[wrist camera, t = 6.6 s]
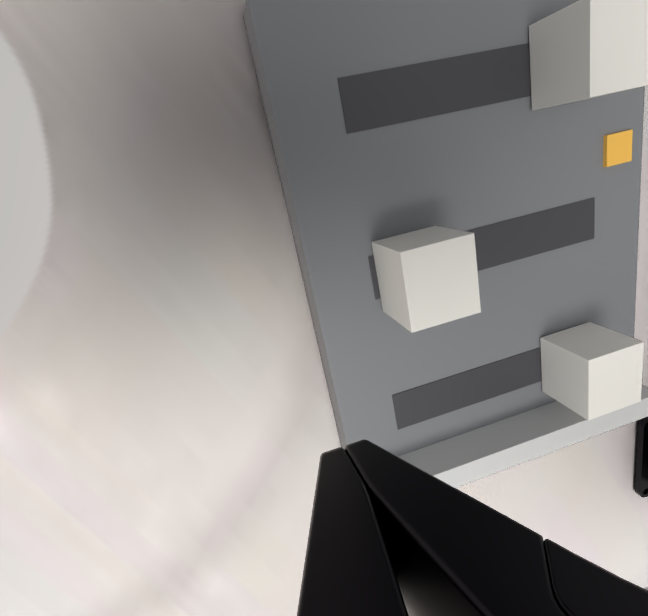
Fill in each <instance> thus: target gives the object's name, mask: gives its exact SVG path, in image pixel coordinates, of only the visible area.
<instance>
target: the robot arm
mask: <svg viewBox="0 0 648 616" xmlns="http://www.w3.org/2000/svg"><path fill="white" fill-rule="evenodd" d="M635 492H636V493H637V494H638V495H640V496H641V497H647V496H648V417H645V418H642V419H641V420H640V421H639V424H638V440H637V460H636V480H635ZM297 616H648V590H646V589H643V588H641V587H639V586H637V585H635V584H633V583H631V582H629V581H627V580H624V579H622V578H620V577H618V576H617V575H615V574H613V573H611V572H609V571H607V570H605V569H603V568H601V567H599V566H597V565H596V564H594V563H592V562H590V561H588V560H586V559H584V558H582V557H580V556H578V555H576V554H574V553H573V552H571V551H569V550H567V549H565V548H564V547H562V546H560V545H558V544H556V543H554V542H553V541H551V540H549V539H545V540H544V541H543V537H542V536H541V535H539V534H538V533H536V532H534V531H532V530H530V529H529V528H527V527H525V526H523V525H521V524H519V523H518V522H516V521H514V520H512V519H510V518H509V517H507V516H505V515H503V514H501V513H499V512H498V511H496V510H494V509H492V508H490V507H489V506H487V505H485V504H483V503H481V502H479V501H478V500H476V499H474V498H472V497H470V496H469V495H467V494H465V493H463V492H461V491H459V490H458V489H456V488H454V487H452V486H450V485H449V484H447V483H445V482H443V481H441V480H439V479H438V478H436V477H434V476H432V475H430V474H429V473H427V472H425V471H423V470H421V469H419V468H418V467H416V466H414V465H412V464H410V463H409V462H407V461H405V460H403V459H401V458H399V457H398V456H396V455H394V454H392V453H390V452H389V451H387V450H385V449H383V448H381V447H380V446H378V445H376V444H374V443H372V442H370V441H369V440H365V439H363V440H360V441H357V442H354V443H351V444H348V445H346V446H345V449H343V448H341V447H340V448H336V449H333V450H330V451H327V452H324V453H322V455H321V457H320V463H319V469H318V476H317V483H316V490H315V496H314V503H313V510H312V517H311V524H310V530H309V537H308V544H307V551H306V557H305V564H304V571H303V578H302V584H301V591H300V598H299V605H298V612H297Z"/></svg>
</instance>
